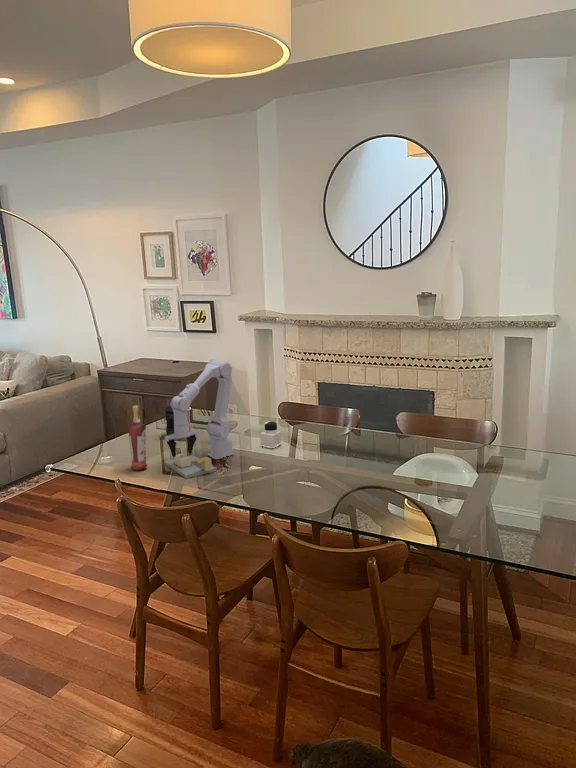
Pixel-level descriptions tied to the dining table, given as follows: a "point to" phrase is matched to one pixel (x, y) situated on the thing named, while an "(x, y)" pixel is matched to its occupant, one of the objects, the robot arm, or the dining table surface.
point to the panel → (189, 468)
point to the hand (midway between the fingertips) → (181, 454)
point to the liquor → (137, 441)
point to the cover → (182, 460)
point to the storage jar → (169, 421)
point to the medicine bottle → (270, 434)
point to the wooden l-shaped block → (205, 463)
